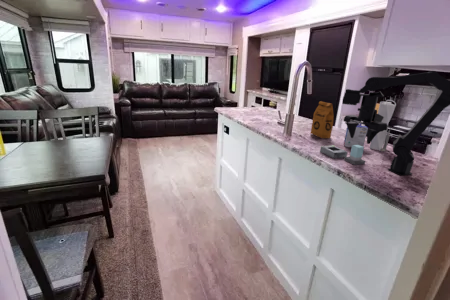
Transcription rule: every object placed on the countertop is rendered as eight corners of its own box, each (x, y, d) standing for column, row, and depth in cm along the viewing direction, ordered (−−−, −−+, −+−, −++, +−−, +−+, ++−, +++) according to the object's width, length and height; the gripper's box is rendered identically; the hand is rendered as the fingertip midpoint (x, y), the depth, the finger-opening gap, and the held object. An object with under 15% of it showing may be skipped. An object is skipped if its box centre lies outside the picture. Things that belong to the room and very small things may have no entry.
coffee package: (319, 139, 146) (326, 103, 139) (308, 134, 157) (313, 100, 150) (333, 138, 149) (340, 104, 142) (320, 133, 160) (326, 101, 153)
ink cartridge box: (361, 146, 136) (367, 121, 131) (363, 149, 131) (369, 123, 126) (342, 144, 139) (348, 120, 134) (344, 146, 134) (349, 121, 129)
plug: (360, 163, 110) (364, 147, 108) (354, 163, 109) (358, 147, 107) (354, 160, 113) (358, 144, 111) (348, 160, 112) (352, 145, 110)
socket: (346, 157, 117) (347, 151, 116) (333, 158, 115) (334, 152, 114) (332, 150, 126) (333, 144, 125) (319, 151, 124) (321, 145, 123)
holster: (364, 163, 110) (365, 161, 109) (354, 165, 108) (355, 162, 107) (354, 159, 115) (354, 156, 115) (344, 160, 113) (344, 157, 113)
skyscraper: (382, 152, 127) (397, 100, 118) (366, 149, 133) (379, 98, 123) (386, 149, 133) (400, 99, 124) (370, 146, 138) (383, 98, 129)
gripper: (402, 110, 97) (391, 146, 102) (364, 103, 113) (357, 134, 119) (381, 110, 93) (372, 147, 99) (346, 103, 110) (339, 135, 115)
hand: (359, 140), depth 108 cm, fingers open, 9 cm apart
